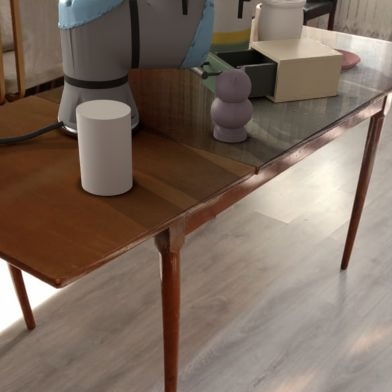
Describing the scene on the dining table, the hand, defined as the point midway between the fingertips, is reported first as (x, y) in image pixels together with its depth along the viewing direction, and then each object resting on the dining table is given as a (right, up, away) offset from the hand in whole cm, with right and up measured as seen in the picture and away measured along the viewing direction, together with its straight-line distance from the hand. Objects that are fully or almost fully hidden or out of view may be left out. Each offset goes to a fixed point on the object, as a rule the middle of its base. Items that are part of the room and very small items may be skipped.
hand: (213, 8), depth 100 cm
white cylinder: (-17, -28, +2) cm, 33 cm away
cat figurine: (+4, -14, +19) cm, 24 cm away
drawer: (+5, +2, +36) cm, 36 cm away
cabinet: (+18, +4, +41) cm, 45 cm away
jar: (+17, +15, +54) cm, 58 cm away
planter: (+17, +25, +65) cm, 72 cm away
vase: (+1, +15, +53) cm, 55 cm away
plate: (+31, +16, +56) cm, 66 cm away
